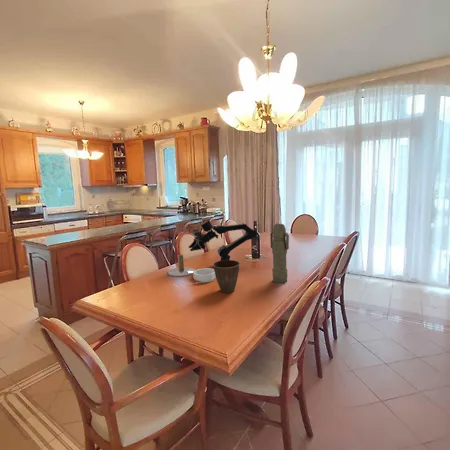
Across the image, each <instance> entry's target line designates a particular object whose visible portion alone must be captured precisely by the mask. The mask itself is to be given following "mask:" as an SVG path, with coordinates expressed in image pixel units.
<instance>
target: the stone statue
mask: <svg viewBox="0 0 450 450" xmlns="http://www.w3.org/2000/svg"><path fill="white" fill-rule="evenodd" d="M269 236H270V238H269V239H270V241H269V242H270V248H271V251H272V258H273V259H272V264H273V265H272V267H273V268H272V282H274V283H277V284H285V283H287V282H288V268H287V254H288V251H289V244H290V243H289V241H290V240H289V239H290V235H289V232H287V228H286V227H285V224H283V223H275V224H274V225H273V227H272V231H271V232H270V234H269Z"/></svg>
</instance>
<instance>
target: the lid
mask: <svg viewBox="0 0 450 450" xmlns="http://www.w3.org/2000/svg"><path fill="white" fill-rule="evenodd" d="M177 265H178V267H174V268H171V269H169V270H168V271H167V272H168V274H169V275H171V276H170V277H172V276H184V277H187V276H186V275H189V276H191V275H190V274H192V273H193V272H194V269H195V268H193V267H191V266H184V255H183V254H177ZM192 275H193V274H192Z"/></svg>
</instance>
